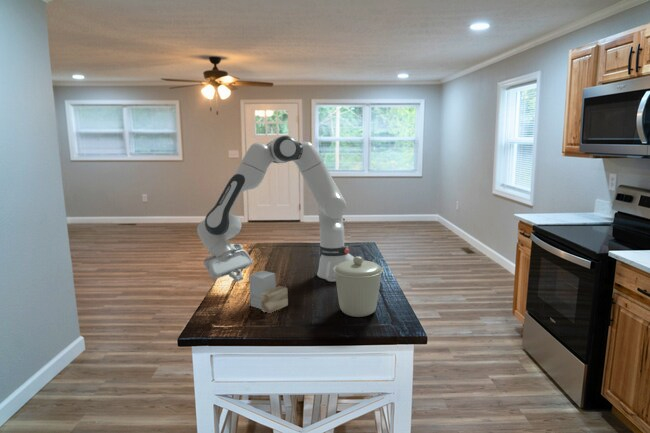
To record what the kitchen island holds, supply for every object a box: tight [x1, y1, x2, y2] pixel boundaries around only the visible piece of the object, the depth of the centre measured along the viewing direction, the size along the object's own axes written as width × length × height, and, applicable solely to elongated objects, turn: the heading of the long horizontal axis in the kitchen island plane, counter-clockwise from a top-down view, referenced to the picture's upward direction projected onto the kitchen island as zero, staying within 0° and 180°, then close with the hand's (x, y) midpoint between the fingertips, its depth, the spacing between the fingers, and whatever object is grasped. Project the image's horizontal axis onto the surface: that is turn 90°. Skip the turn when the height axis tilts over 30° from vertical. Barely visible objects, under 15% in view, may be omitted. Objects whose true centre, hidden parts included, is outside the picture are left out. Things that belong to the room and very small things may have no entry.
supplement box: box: [248, 269, 277, 310], centre depth 164 cm, size 7×7×13 cm
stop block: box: [261, 285, 289, 314], centre depth 161 cm, size 4×10×7 cm, turn 143°
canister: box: [333, 255, 384, 318], centre depth 156 cm, size 18×18×21 cm
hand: (240, 280), depth 173 cm, fingers closed
